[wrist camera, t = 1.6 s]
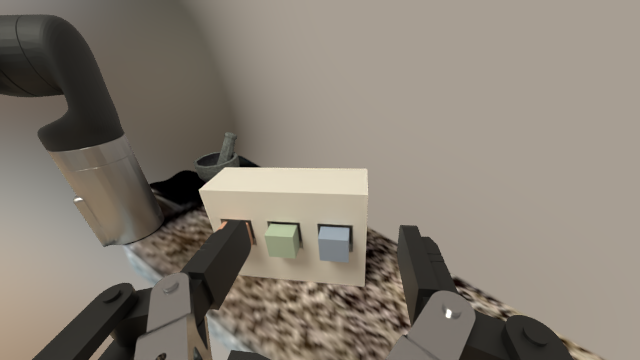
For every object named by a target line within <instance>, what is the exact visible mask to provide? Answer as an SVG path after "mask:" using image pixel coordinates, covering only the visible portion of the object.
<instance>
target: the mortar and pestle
mask: <svg viewBox="0 0 640 360" xmlns="http://www.w3.org/2000/svg"><path fill="white" fill-rule="evenodd" d="M236 139H237V135H235V134H233V133H229V132H226V133H225V140H224V143H223V146H222V149H221V152H215V153H210V154H207V155H204V156H201V157H200V158H198V159H197V160H196V161H194V166H195V169H196V172H197V173H198V175H199V177H200V178H201V179H202V180H203V181H205V182H209V181H210V180H211V179H212V178H213V177H215V176H216V175H217V174H218V173H219V172H220V171H222V170H223V169H224V168H225V167H233V168H239V159H238V156H237V154H236V153H235V152H233V150H234V144H235V140H236Z"/></svg>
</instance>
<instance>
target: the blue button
mask: <svg viewBox="0 0 640 360" xmlns="http://www.w3.org/2000/svg"><path fill="white" fill-rule="evenodd" d="M318 245H319V256H320V260H321V261H334V262H347V263H349V228H339V227H321V228H320V232H319V236H318Z"/></svg>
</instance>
